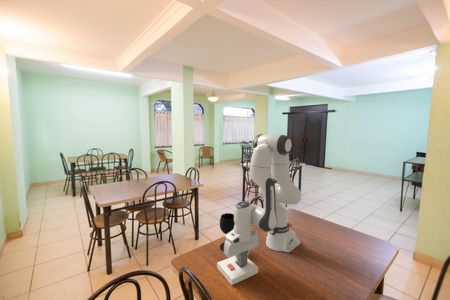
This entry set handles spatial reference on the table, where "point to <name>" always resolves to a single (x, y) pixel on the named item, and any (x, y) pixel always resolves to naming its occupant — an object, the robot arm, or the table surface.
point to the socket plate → (236, 270)
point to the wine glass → (226, 225)
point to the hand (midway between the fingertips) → (241, 258)
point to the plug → (243, 258)
